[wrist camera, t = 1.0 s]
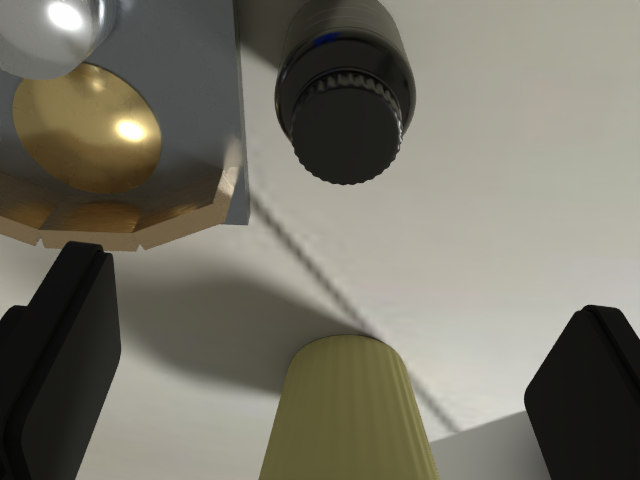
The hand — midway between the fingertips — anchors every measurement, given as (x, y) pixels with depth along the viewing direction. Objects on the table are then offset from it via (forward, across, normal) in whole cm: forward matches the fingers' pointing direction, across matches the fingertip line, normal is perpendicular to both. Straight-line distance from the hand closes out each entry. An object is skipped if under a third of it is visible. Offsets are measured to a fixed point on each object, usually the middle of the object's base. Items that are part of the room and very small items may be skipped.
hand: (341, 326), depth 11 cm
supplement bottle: (+25, -1, +2) cm, 25 cm away
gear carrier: (+25, +14, +6) cm, 30 cm away
